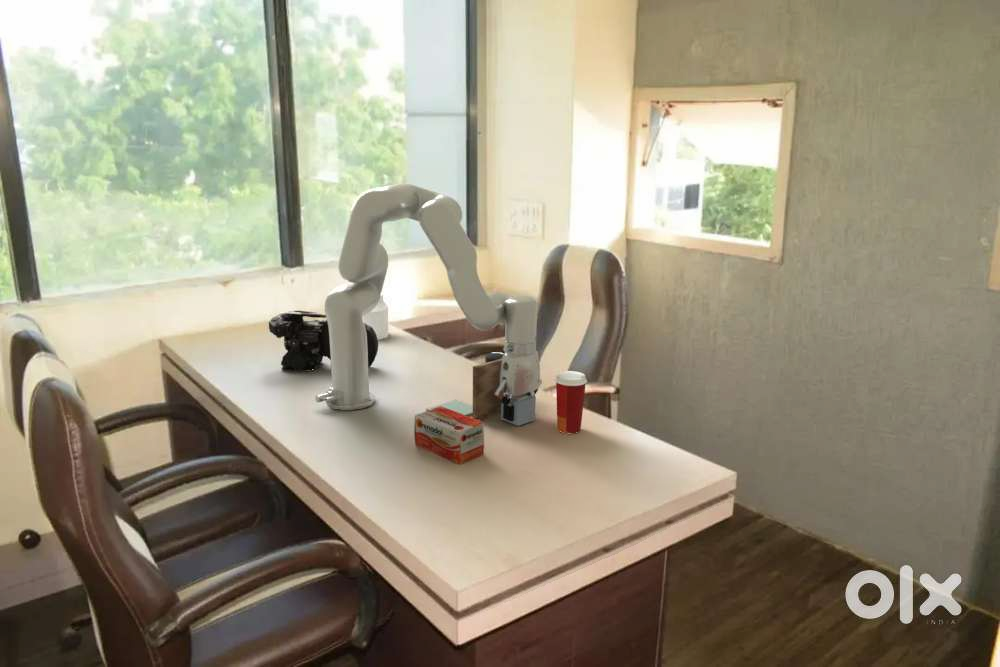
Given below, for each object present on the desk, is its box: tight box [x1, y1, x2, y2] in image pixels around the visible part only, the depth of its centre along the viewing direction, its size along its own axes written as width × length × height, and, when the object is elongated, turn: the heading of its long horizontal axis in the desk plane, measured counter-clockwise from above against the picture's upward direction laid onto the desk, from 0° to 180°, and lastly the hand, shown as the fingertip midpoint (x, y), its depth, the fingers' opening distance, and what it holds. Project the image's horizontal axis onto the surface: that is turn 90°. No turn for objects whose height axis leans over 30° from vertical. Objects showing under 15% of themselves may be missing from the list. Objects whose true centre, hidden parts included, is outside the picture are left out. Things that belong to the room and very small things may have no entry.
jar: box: [363, 292, 390, 339], centre depth 263 cm, size 12×10×15 cm
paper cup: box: [554, 370, 588, 434], centre depth 185 cm, size 8×8×14 cm
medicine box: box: [413, 406, 485, 466], centre depth 174 cm, size 15×8×8 cm, turn 47°
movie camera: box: [268, 310, 379, 372], centre depth 227 cm, size 31×18×18 cm, turn 87°
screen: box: [471, 358, 504, 422], centre depth 195 cm, size 14×4×14 cm, turn 134°
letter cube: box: [500, 394, 536, 427], centre depth 191 cm, size 6×6×6 cm
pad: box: [425, 399, 473, 417], centre depth 198 cm, size 10×10×1 cm
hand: (518, 415), depth 192 cm, fingers closed on letter cube, 6 cm apart
